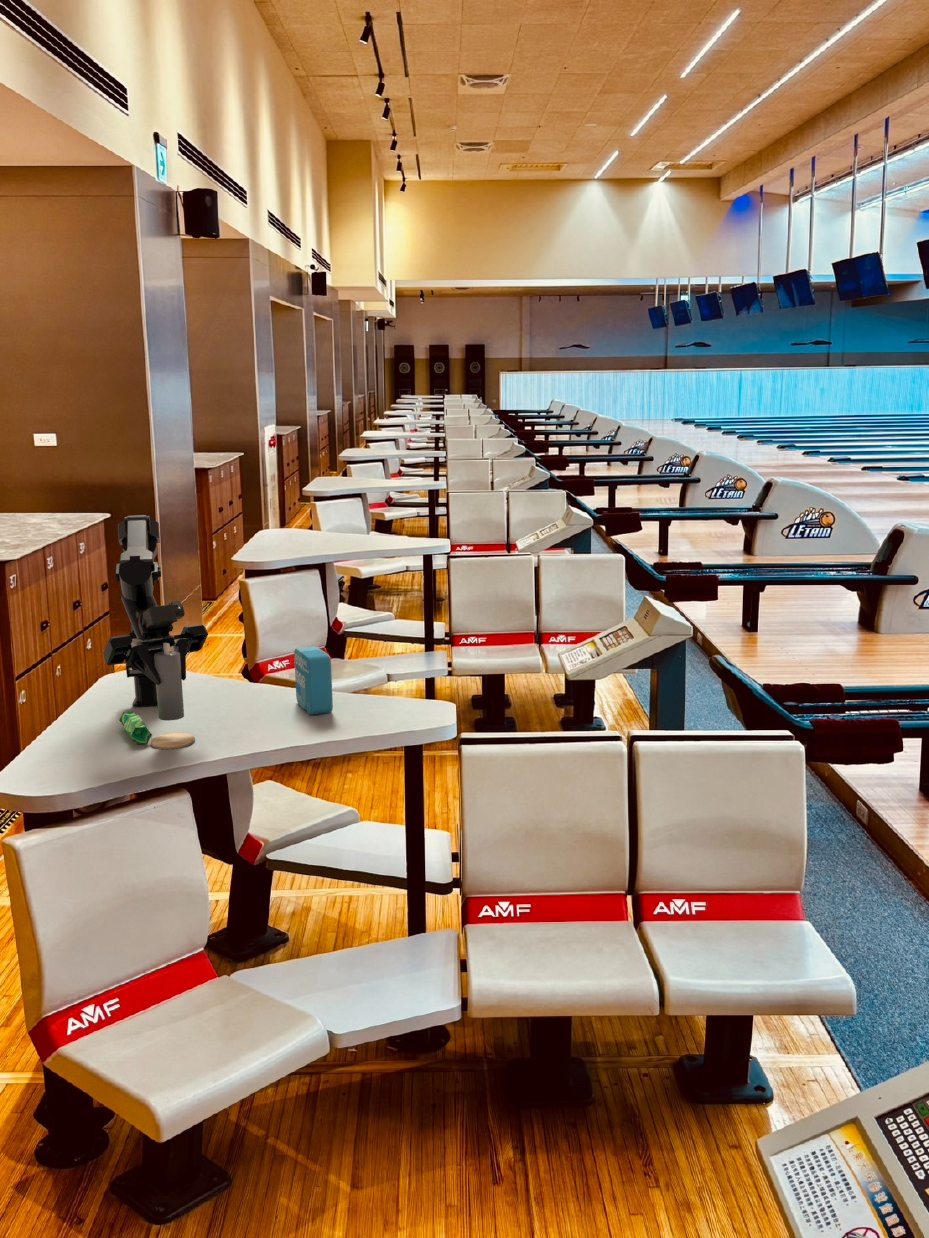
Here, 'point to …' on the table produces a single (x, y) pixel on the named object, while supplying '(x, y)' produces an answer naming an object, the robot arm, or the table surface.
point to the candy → (135, 727)
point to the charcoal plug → (169, 684)
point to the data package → (313, 680)
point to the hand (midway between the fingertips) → (171, 681)
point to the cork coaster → (172, 740)
